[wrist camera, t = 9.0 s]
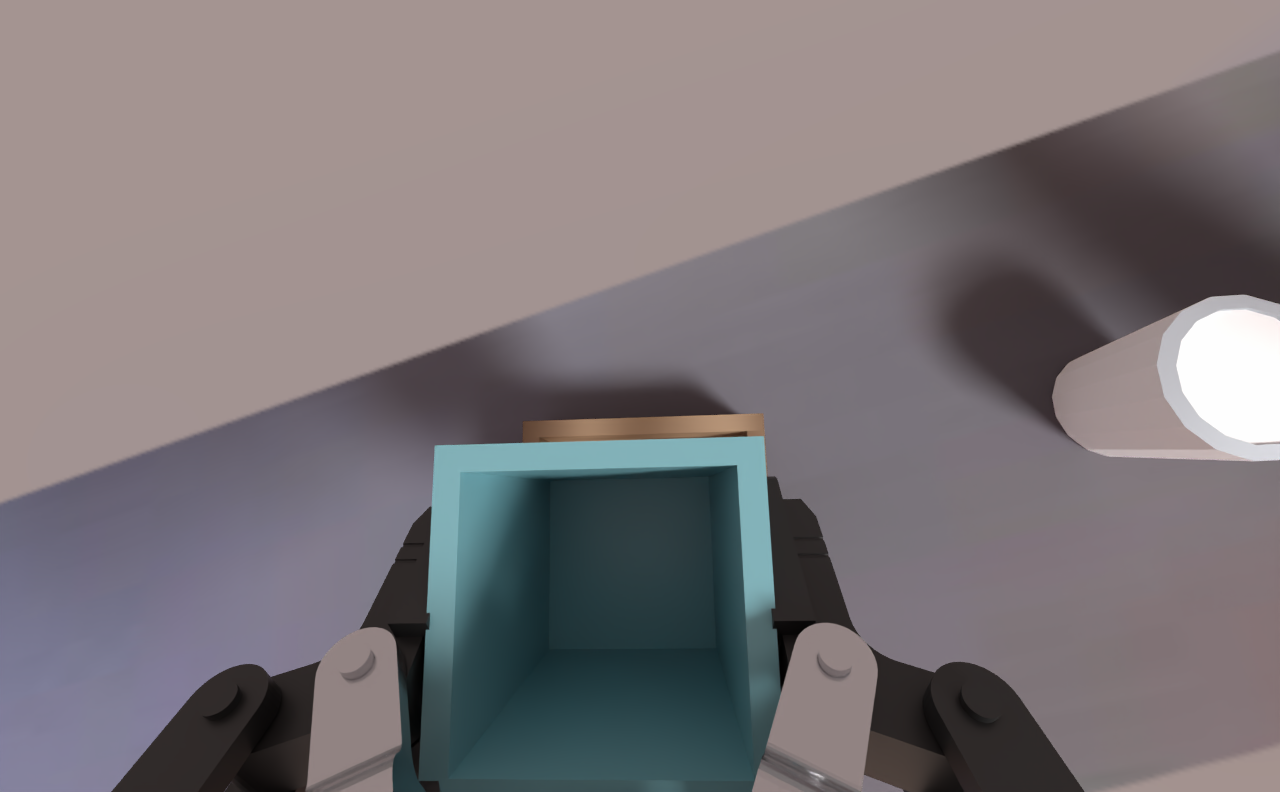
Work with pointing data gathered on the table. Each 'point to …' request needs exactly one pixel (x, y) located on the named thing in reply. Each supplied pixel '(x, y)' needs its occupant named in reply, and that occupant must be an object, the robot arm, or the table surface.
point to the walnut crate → (645, 428)
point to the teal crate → (599, 617)
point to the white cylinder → (1181, 386)
